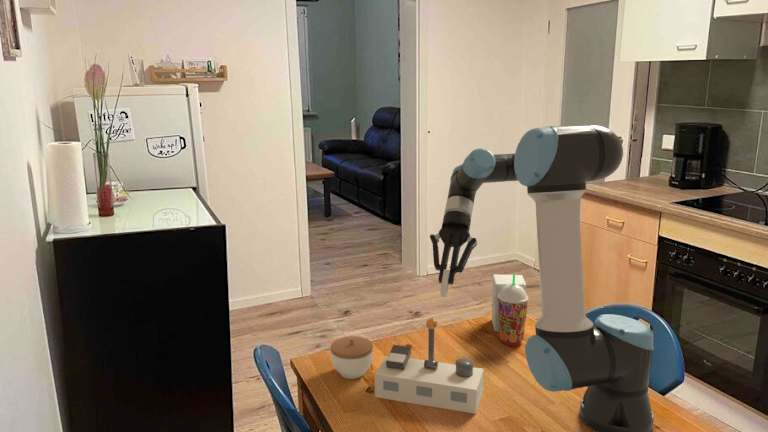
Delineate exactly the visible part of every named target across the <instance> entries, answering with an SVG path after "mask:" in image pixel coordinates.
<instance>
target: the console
mask: <svg viewBox="0 0 768 432" xmlns="http://www.w3.org/2000/svg"><path fill="white" fill-rule="evenodd" d="M388 356H389V354H387V355H386V357H385V358H384V360H383V361H382V363H381V364H380V366H379V367H378V369H376V371H375V373H374V397H375V398H377V399H378V398H379V399H385V400H391V401H394V402H395V401H397V402H402V403H409V404H415V405H418V406H419V405H421V406H427V407H432V408H437V409H445V410H450V411H456V412H462V413H467V414H474V415H475V414H476V415H477V412H478V408H479V406H480V402H481V399H482V395H483V392H484V368H480V367H476V366H473V375H472V376H470V377H460V376H458V375H456V364H453V363H447V362H439V361H437V362H438V368H437V369H431V368H425V367H424V362H425V360H426V359H420V358H419V359H417V358H410V357H409V360H408V362H407V364H406V367H405V369H404V370H402V369H395V368H389V367H386V360H387V358H388Z"/></svg>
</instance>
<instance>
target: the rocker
mask: <svg viewBox="0 0 768 432" xmlns="http://www.w3.org/2000/svg"><path fill="white" fill-rule="evenodd" d="M411 354H412V346H405V345H401V344H400V345H399V344H393V345H392V348H391V350H390V351H389V354H388V355H389V356H388V358H387V360H386V367H389V368H395V369H402V370H404V369H405V367H406V364H407V362H408V360H409V358H410V357H411Z"/></svg>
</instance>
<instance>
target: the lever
mask: <svg viewBox="0 0 768 432" xmlns="http://www.w3.org/2000/svg"><path fill="white" fill-rule="evenodd" d="M437 321H438V320H436V319H435V318H434V317H430V318H427V320H426V323H425V326H426V328H427V329H428V351H427V352H428V353H427V354H428V355H427V356H428V357H427V358H428V359H424V360H425V362H424V367H425V368H431V369H437V368H438V362H439V361H436V360H435V329H436V328H437V326H438V322H437Z"/></svg>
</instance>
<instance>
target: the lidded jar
mask: <svg viewBox="0 0 768 432" xmlns="http://www.w3.org/2000/svg"><path fill="white" fill-rule="evenodd" d="M373 349H374V344H373V342H372V341H371V340H370V339H369V338H366V337H362V336H358V335H357V336H356V335H352V336H344V337H340V338H337V339H336V340H334V341H332V343H331V345H330V352H331V353H330V354H331V360H332V361H331V362H332V364H333V367H334V369H335V370H336V372H337V373H338V374H340V375H341V377H342V378H344V379H348V380H350V379H351V380H355V379H359V378H362V377H363V376H364V375H365V373H366V372H367V371H368V370H369V369H370V367H371V365H372V361H373V352H374V351H373Z"/></svg>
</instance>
